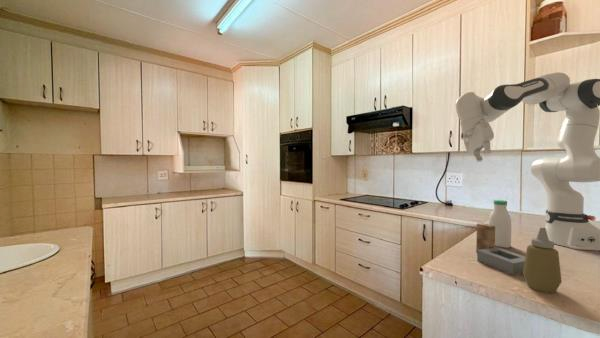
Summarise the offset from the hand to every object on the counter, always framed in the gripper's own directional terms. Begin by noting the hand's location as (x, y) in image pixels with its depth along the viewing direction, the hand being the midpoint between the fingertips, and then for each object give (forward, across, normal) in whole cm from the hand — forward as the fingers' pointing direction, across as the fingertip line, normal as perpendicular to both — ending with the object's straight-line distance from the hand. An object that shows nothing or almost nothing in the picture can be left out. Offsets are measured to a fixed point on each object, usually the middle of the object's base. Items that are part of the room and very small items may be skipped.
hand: (483, 157), depth 99 cm
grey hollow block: (+41, -1, +5) cm, 41 cm away
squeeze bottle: (+47, -16, +2) cm, 49 cm away
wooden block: (+38, +8, +7) cm, 39 cm away
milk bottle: (+35, +22, -4) cm, 42 cm away
